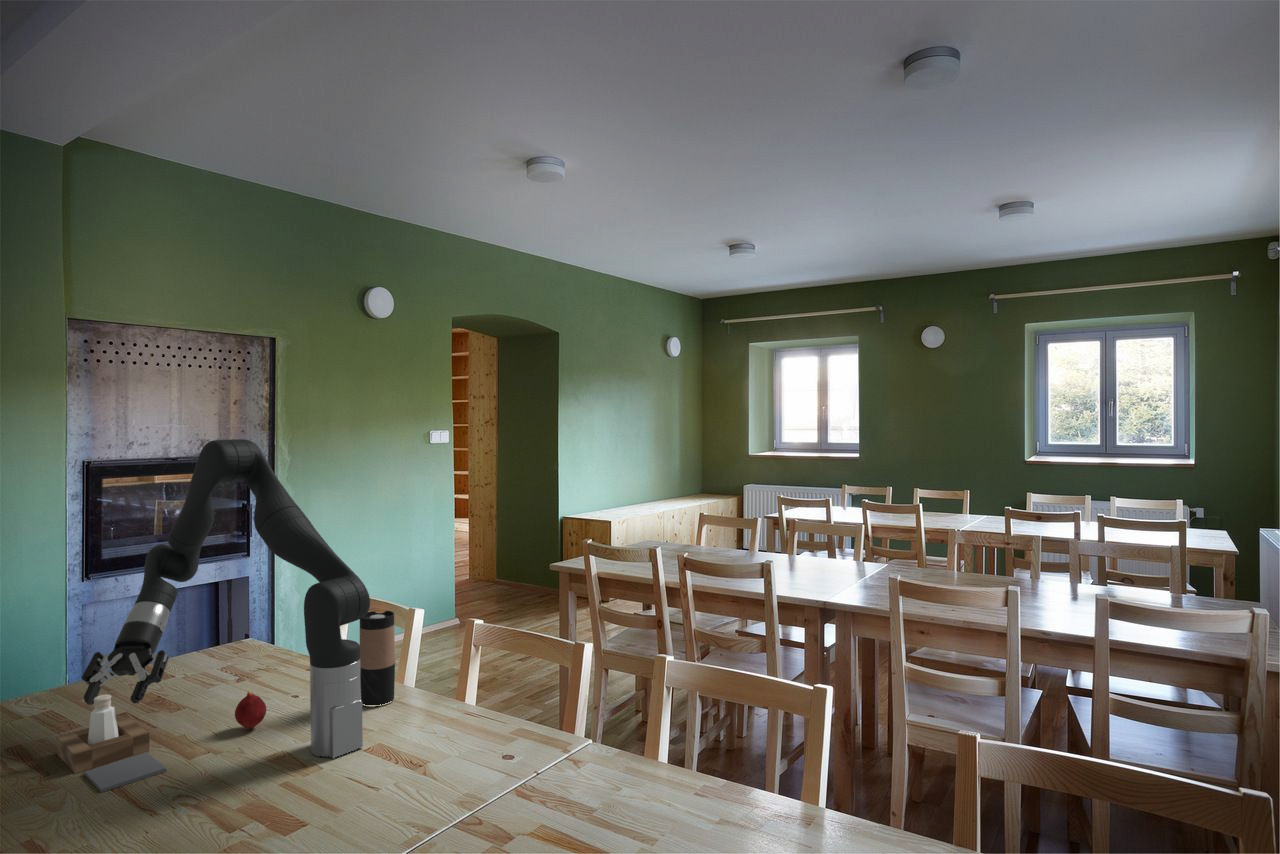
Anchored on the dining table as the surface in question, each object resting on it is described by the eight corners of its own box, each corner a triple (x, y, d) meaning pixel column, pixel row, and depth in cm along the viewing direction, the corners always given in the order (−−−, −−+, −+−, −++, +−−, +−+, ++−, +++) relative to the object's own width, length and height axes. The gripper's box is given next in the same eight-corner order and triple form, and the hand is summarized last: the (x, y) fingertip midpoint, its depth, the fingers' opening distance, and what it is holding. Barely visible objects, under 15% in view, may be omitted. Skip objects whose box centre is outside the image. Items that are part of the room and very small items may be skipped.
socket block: (149, 750, 146) (149, 732, 146) (74, 773, 137) (74, 754, 137) (129, 733, 154) (128, 717, 154) (56, 754, 144) (56, 736, 144)
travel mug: (372, 710, 165) (371, 621, 165) (353, 702, 170) (352, 615, 170) (402, 700, 171) (401, 613, 171) (382, 692, 176) (381, 608, 176)
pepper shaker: (122, 753, 145) (121, 696, 145) (87, 761, 141) (86, 704, 141) (118, 743, 149) (117, 689, 149) (84, 752, 146) (83, 696, 145)
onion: (272, 723, 159) (271, 686, 158) (255, 735, 153) (255, 696, 153) (246, 722, 159) (245, 685, 159) (228, 734, 153) (228, 695, 153)
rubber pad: (166, 771, 138) (165, 767, 138) (101, 792, 130) (101, 789, 130) (147, 755, 144) (147, 752, 144) (84, 774, 136) (84, 771, 136)
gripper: (100, 620, 156) (63, 695, 144) (172, 618, 157) (141, 693, 146) (116, 638, 161) (82, 712, 150) (185, 636, 162) (156, 709, 151)
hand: (111, 702), depth 148 cm, fingers open, 8 cm apart
